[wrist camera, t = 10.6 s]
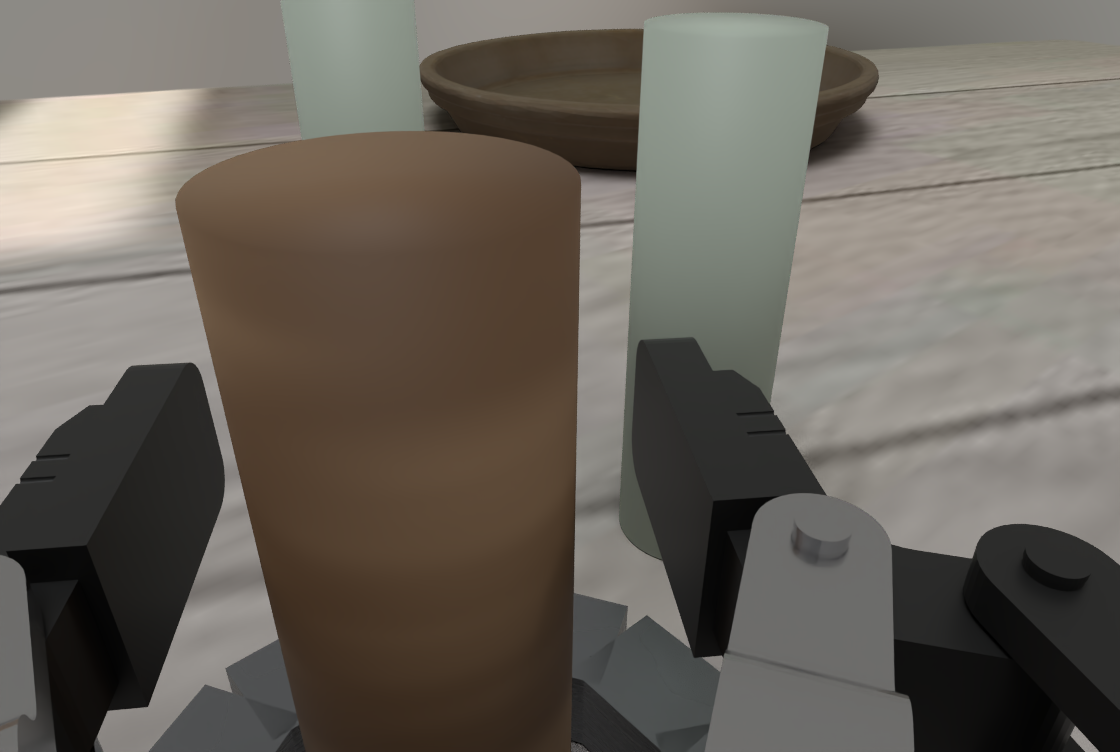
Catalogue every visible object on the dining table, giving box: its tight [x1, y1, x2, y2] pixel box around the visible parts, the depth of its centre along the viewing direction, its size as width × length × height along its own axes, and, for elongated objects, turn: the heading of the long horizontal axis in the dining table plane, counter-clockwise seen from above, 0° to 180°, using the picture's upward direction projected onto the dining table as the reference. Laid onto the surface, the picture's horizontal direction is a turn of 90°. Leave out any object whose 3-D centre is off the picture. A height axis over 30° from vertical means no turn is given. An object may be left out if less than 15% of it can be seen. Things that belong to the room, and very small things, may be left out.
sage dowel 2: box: [619, 13, 829, 560], centre depth 19 cm, size 3×3×12 cm
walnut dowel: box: [175, 131, 581, 752], centre depth 10 cm, size 3×3×12 cm
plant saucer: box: [419, 29, 879, 171], centre depth 58 cm, size 31×31×5 cm
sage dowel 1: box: [280, 0, 425, 140], centre depth 25 cm, size 3×3×12 cm
